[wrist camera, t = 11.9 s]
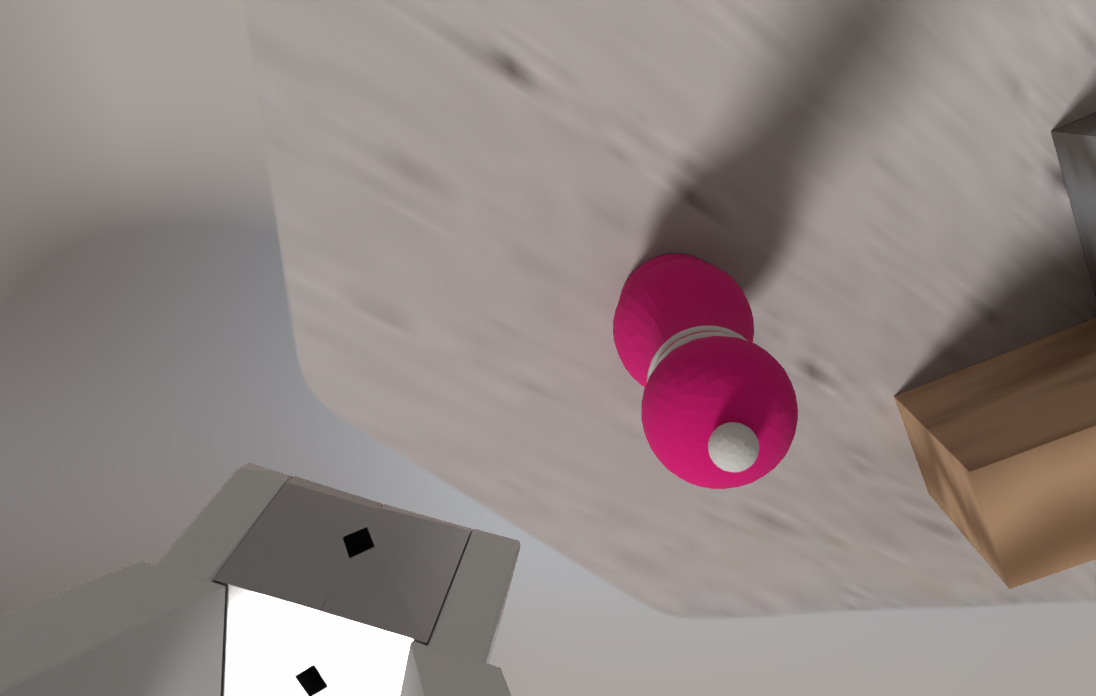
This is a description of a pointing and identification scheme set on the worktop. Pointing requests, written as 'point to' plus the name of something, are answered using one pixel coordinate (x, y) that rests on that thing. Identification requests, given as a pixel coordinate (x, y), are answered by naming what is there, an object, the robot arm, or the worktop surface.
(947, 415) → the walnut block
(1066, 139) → the charcoal board
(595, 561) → the worktop surface
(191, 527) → the robot arm
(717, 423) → the pepper mill
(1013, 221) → the worktop surface
